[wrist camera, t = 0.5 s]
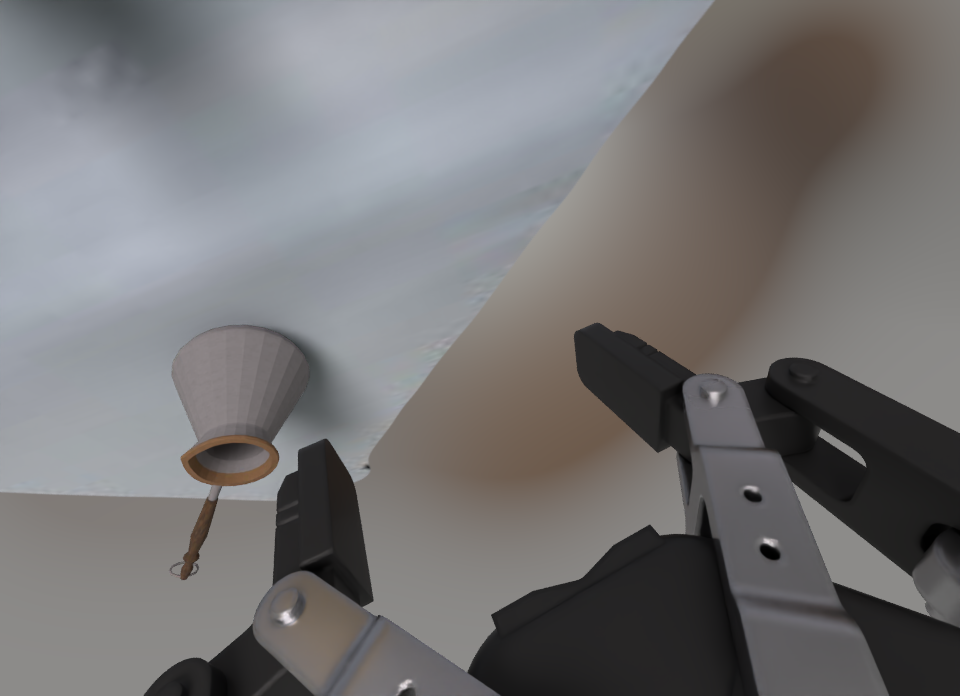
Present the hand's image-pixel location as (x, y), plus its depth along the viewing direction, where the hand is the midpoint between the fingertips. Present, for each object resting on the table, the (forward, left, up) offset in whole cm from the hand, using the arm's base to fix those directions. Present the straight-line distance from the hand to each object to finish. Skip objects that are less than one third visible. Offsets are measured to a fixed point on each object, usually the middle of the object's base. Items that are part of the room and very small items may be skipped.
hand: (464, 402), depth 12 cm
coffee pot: (+5, -29, -28) cm, 40 cm away
